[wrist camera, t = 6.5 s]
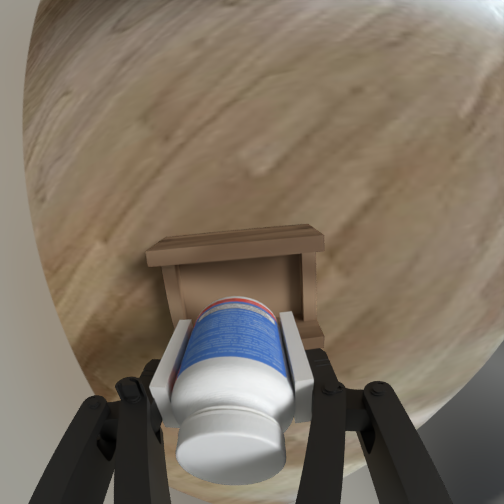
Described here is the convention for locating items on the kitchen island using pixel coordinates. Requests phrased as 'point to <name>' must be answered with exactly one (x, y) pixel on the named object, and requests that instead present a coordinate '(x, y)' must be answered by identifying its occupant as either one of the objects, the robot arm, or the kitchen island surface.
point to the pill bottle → (233, 395)
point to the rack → (244, 272)
